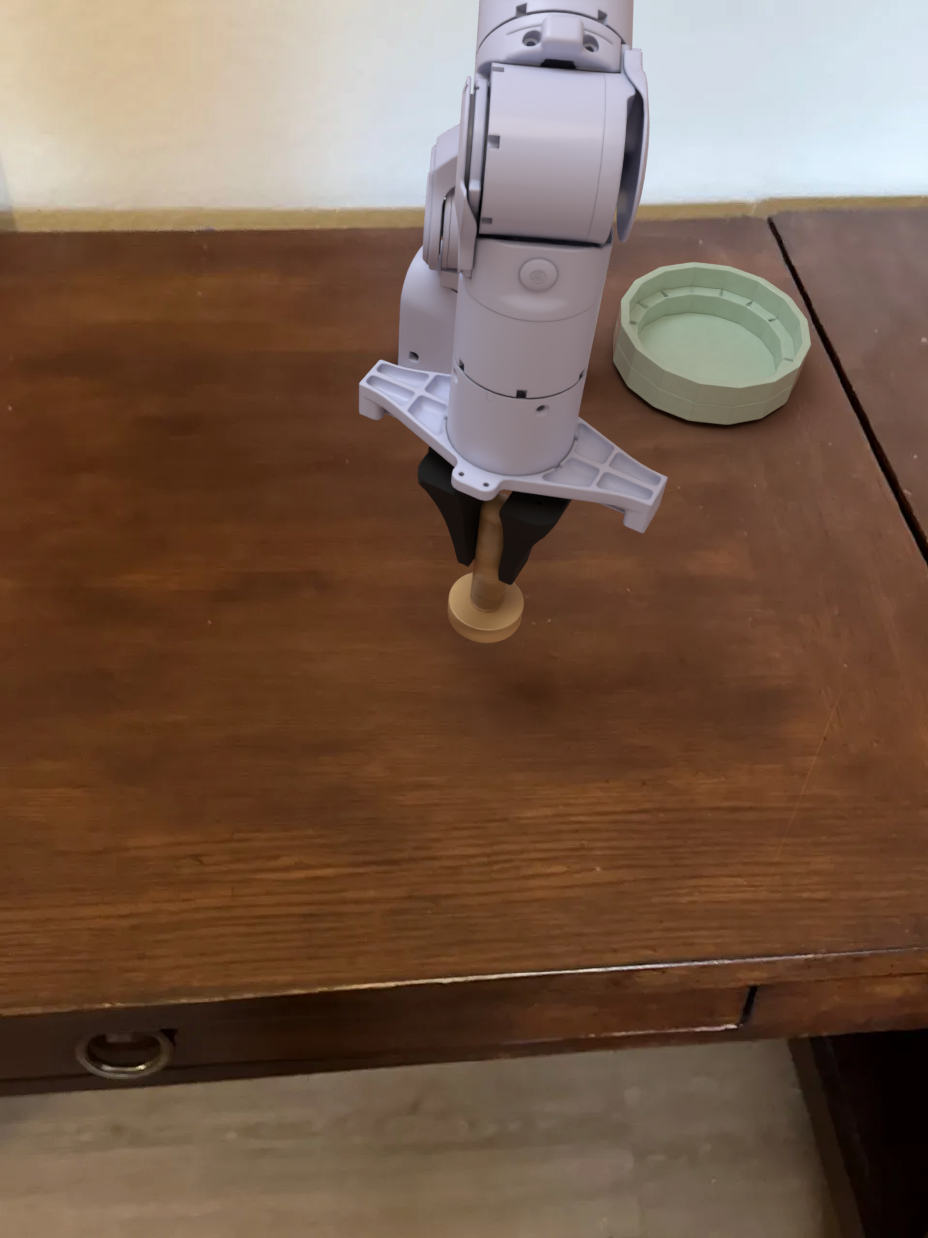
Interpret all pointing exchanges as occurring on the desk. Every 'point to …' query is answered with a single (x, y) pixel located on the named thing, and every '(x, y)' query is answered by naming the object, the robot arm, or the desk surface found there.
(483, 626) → the wooden stamp
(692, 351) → the bowl
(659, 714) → the desk surface
